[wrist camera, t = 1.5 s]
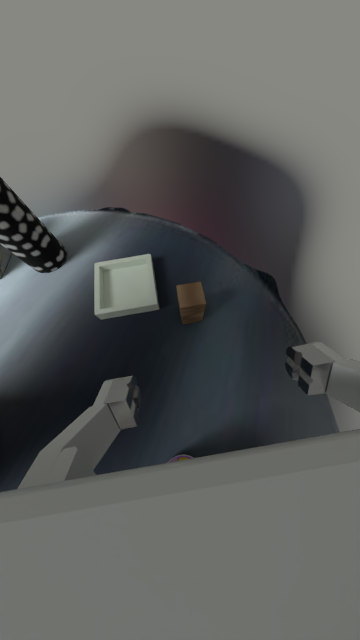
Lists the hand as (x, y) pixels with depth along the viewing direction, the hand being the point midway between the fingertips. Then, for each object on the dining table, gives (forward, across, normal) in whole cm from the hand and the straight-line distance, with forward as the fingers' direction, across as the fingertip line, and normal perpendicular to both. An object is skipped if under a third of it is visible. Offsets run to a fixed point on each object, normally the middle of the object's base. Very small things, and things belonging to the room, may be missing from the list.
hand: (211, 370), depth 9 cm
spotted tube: (+39, +29, -8) cm, 49 cm away
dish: (+30, +11, +1) cm, 32 cm away
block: (+25, -1, +7) cm, 26 cm away
